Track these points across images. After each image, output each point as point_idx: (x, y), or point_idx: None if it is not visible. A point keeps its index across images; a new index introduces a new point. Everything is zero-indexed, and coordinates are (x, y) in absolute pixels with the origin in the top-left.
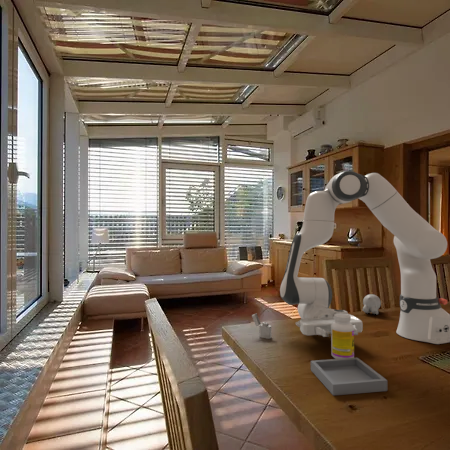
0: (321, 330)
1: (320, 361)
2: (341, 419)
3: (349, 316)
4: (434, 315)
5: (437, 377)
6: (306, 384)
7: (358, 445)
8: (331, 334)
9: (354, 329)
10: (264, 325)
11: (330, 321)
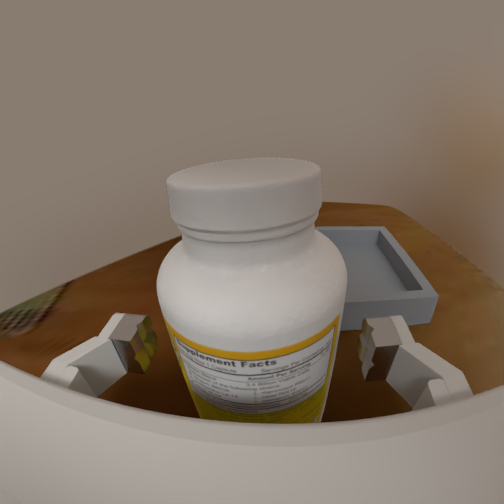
0: (418, 347)
1: (407, 291)
2: (378, 220)
3: (206, 164)
4: None
5: (113, 268)
6: (433, 272)
7: (367, 204)
8: (339, 333)
9: (133, 316)
10: None
11: (240, 497)
